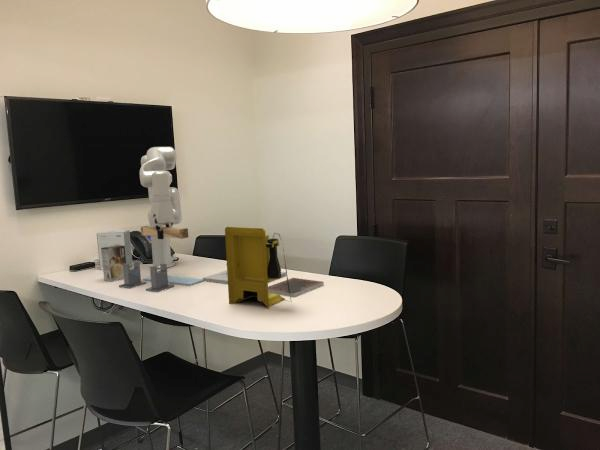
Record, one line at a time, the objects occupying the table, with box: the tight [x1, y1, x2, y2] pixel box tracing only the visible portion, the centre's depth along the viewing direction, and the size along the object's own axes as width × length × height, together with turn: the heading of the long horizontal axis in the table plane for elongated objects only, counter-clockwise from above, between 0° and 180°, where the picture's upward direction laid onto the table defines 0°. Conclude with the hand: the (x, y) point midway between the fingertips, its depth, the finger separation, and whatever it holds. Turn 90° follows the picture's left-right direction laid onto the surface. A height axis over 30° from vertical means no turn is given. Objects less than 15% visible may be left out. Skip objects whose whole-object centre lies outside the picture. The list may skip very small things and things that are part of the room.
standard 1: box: [118, 260, 148, 289], centre depth 228 cm, size 10×7×10 cm
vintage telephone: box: [224, 226, 292, 310], centre depth 191 cm, size 31×14×30 cm, turn 59°
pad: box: [142, 274, 204, 287], centre depth 235 cm, size 10×30×1 cm, turn 60°
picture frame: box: [268, 277, 324, 298], centre depth 212 cm, size 16×2×22 cm
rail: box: [140, 225, 189, 239], centre depth 230 cm, size 4×26×4 cm, turn 59°
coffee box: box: [101, 245, 126, 282], centre depth 242 cm, size 9×6×16 cm
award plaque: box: [202, 269, 287, 285], centre depth 234 cm, size 25×30×2 cm
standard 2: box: [145, 264, 175, 293], centre depth 220 cm, size 10×7×10 cm
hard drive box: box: [96, 230, 134, 269], centre depth 269 cm, size 16×8×20 cm, turn 84°
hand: (164, 237), depth 231 cm, fingers closed on rail, 4 cm apart
